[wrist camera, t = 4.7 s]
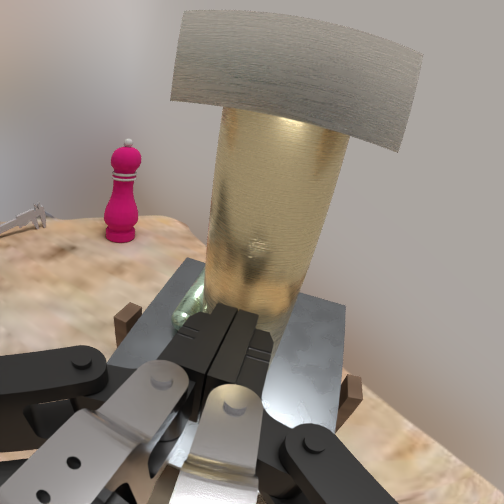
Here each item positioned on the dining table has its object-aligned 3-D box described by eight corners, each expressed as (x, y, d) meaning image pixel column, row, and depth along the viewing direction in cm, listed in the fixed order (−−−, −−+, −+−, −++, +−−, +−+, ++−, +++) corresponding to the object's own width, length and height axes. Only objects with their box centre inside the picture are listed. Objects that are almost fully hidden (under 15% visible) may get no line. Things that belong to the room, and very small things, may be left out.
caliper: (44, 227, 49) (43, 199, 47) (46, 228, 49) (45, 201, 46) (-32, 247, 33) (-37, 217, 30) (-32, 249, 32) (-37, 219, 30)
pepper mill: (97, 240, 50) (104, 138, 42) (112, 227, 56) (120, 136, 48) (129, 246, 50) (139, 141, 43) (141, 233, 57) (152, 139, 49)
